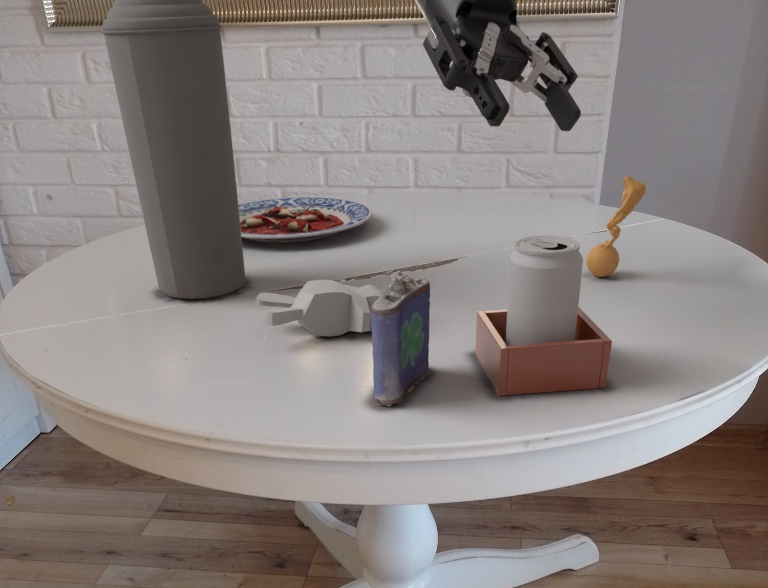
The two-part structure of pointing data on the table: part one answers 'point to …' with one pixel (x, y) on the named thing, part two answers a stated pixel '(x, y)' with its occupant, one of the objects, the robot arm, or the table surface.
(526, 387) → the box
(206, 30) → the canister
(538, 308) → the beverage can
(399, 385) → the flask
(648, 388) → the table surface
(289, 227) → the ceramic plate
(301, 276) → the table surface
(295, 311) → the bunny figurine
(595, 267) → the figurine
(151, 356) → the table surface
